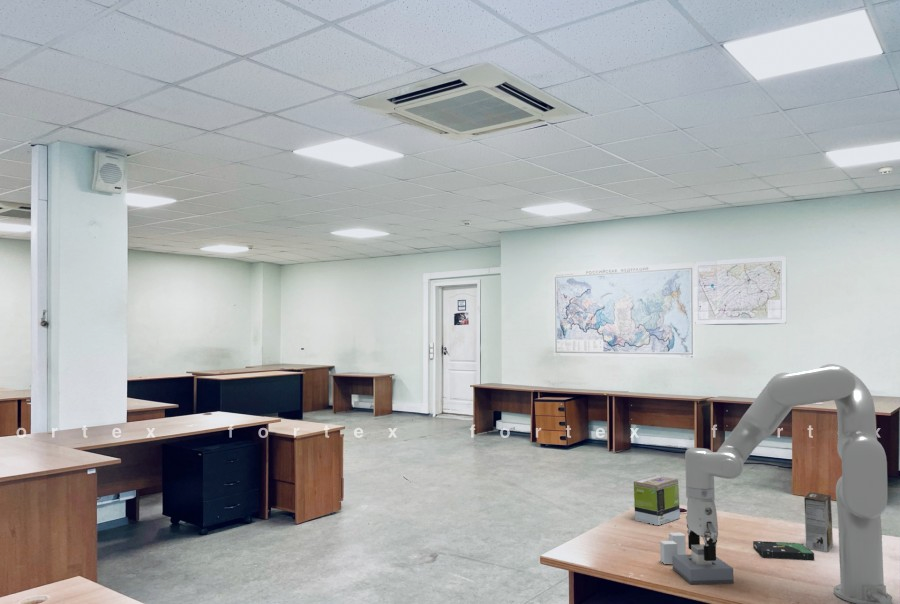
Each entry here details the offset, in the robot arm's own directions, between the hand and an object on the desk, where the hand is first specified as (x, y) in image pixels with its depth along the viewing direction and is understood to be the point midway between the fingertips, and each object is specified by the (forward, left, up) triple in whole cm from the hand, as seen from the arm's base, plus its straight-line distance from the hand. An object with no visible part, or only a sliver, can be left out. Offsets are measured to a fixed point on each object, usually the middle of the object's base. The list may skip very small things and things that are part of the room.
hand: (701, 554), depth 183 cm
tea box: (+57, -10, -6) cm, 58 cm away
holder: (0, 0, -6) cm, 6 cm away
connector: (0, 0, -5) cm, 5 cm away
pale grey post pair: (+15, +2, -6) cm, 16 cm away
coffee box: (+22, -49, -6) cm, 54 cm away
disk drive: (+17, -33, -7) cm, 38 cm away
